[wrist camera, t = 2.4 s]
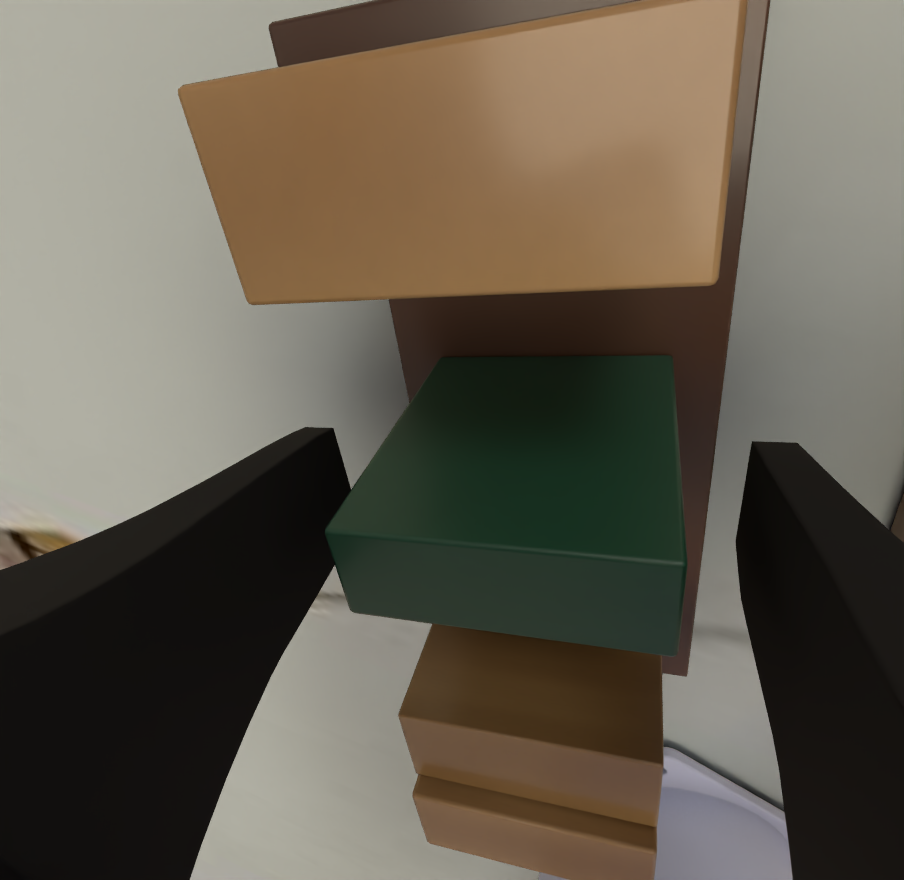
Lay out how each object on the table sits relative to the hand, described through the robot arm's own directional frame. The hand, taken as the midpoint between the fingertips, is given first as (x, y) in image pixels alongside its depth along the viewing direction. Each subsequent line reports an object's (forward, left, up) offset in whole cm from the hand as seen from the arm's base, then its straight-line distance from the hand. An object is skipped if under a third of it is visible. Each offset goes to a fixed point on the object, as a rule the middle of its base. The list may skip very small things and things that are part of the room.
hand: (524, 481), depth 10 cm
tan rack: (-1, -1, -4) cm, 4 cm away
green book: (0, 0, -3) cm, 3 cm away
